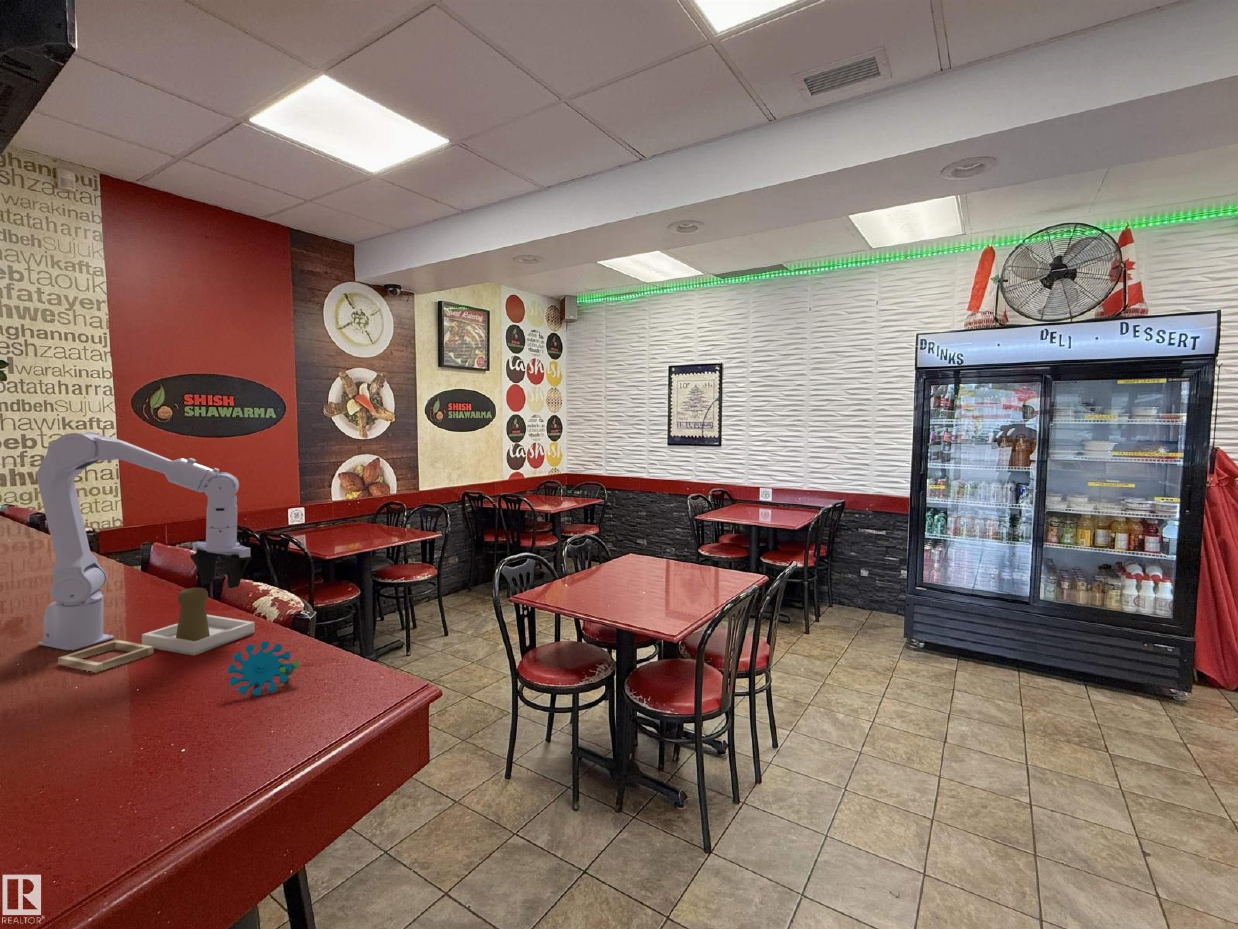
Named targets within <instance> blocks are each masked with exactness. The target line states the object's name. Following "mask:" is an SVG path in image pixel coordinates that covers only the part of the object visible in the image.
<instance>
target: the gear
mask: <svg viewBox="0 0 1238 929" xmlns="http://www.w3.org/2000/svg"><path fill="white" fill-rule="evenodd" d="M269 647H270V642H269V641H266V640H263V641H261V643H260V648H259V650H258V652H256V653H253V652H254V650H255V644H252V643H251V644H247V645H246V646H245V651H246V653H247V654H248V658H247V659H243V653H242V652H236V654H234V655H233V656H232V659H233V661H235V662H238V663H239V664H240V665H241V668H237V665H235V664H233V663H232V664H230V665H229V666H228V668H227V670H226V672H227V674H239V675H241V676H242V677H236V676H230V678H229V683H228V684H229V686H231V687H233V686H235V685H237V684H239V683H243V682H245V683H247V682H248V684H247V685H246V684H245V685H239V686H238V688H237V692H238V694H240V695H241V696H242V695H244V694H246V693H247V691H248V690H249V689H250V688H251V687H253V686H255V685H258V687H256V688H253V690H252V693H251V695H252V696H254V697H260V696H261V694H262V688H263V687H264V685H265V684H266V683H269V685H268V687H267V693H274V692H276V691H277V685H276V684H275V683H274V682H275V681H274V678H275V677H279V683H280V684H282V685H283V684H285V683H286V682H287V681H288V680H289V678H290V676H291V675H293V673H294V670H298V668H299V667H300V665H301V664H300V663H301V662H300V661H299V660H295V661H294V662H293V663H292V662H288V663H284V662H281V661H280V659H282V660H284V661H289V660H290V659H291V652H290V651H289V650H287V651H285V652H284V653H281V654H274V653H278V652H281V651H282V650H283V646H282V645H281V643H276V644H275V645H274V647H273V648H272V649H270V650H268V651H266V652H264V650H266V649H268V648H269ZM288 677H289V678H288ZM273 691H274V692H273Z"/></svg>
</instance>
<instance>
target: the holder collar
mask: <svg viewBox="0 0 1238 929" xmlns="http://www.w3.org/2000/svg"><path fill="white" fill-rule="evenodd" d="M154 649H155V648H154V646H148V645H143V644H142V643H136V642H132V641H125V640H120V639H114V640H111V641H109V642H105V643H101V644H98V645H96V646H93V647H92V646H91V647H88V648H85V649H82V650H79V651H76V652H72V653H69V654H65V655H62V656H60V657H57V665H58V664H65V665H68V666H72V667H78V668H81V669H83V670H86V671H85V672H88V671H92V672H91V673H93V672H96V673H95V674H98V673H97V672H99V671H102V672H104V671H103V670H105V671H107V670H106V669H108V668H110V667H113V668H116V667H118V666H117V665H119V666H121V665H120V664H122V665H125V664H127V663H128V664H129V663H130V661H131V662H134V661H136V660H139V659H142V658H144V657H145V658H146V657H148V656H151V655H153V654H154V651H155V650H154ZM109 650H111V651H114V650H118V651H122V652H127V653H123V654H121V655H118V656H114V657H111V658H108V659H105V660H102V661H100V662H97V661H93V660H88V659H80V658H82V657H88V656H91V655H94V654H98V655H100V653H102V654H104V653H103V652H105V653H107V652H106V651H108V652H110V651H109ZM141 657H142V658H141ZM115 666H116V667H115ZM83 670H82V671H83ZM108 670H109V669H108ZM99 673H100V672H99Z"/></svg>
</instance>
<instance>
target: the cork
mask: <svg viewBox="0 0 1238 929" xmlns="http://www.w3.org/2000/svg"><path fill="white" fill-rule="evenodd" d="M208 598H209V593H208V590H207V589H206V588H204V587H190V588H186V589H185V588H184V589H182V590H181V591H179V593H178V596H177V602H178V604H179V605H180V611H179V616H178V621H177V622H178V627H177V633H176V638H179V639H185V640H191V641H197V640H200V639H203V638H206V637H209V636H210V633H209V627H208V620H207V615H208V614H207V608H206V603H207V601H208Z"/></svg>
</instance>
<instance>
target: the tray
mask: <svg viewBox="0 0 1238 929" xmlns="http://www.w3.org/2000/svg"><path fill="white" fill-rule="evenodd" d="M207 620H208V627H209V633H210V636H209V637H206V638H203V639H200V640H197V641H191V640H185V639H179V638H176V633H177V627H178V623H175V624H171V625H167V626H164V627H161V628H159V629H155V630H151V631H148V632H145V633H142V634H141V644H143V645H148V646H154V649H155V650H161V651H167V652H173V653H178V654H184V655H190V656H193V657H194V656H196V655H200V654H202V653H205V652H207V651H210V650H213V649H216V648H218V647H221V646H224V645H226V644H229V643H231V642H234V641H238V640H239V639H242V638H245V637H247V636H250V635H253V634H255V632H256V630H255V629H256V628H255V625H256V624H255V623H256V621H250V620H244V619H238V618H232V617H225V616H224V617H223V616H218V615H212V614H207Z"/></svg>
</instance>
